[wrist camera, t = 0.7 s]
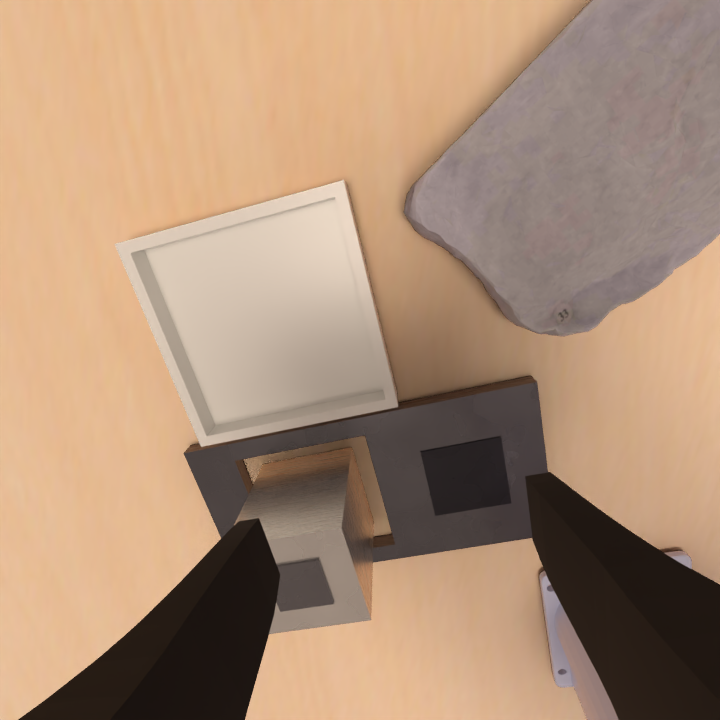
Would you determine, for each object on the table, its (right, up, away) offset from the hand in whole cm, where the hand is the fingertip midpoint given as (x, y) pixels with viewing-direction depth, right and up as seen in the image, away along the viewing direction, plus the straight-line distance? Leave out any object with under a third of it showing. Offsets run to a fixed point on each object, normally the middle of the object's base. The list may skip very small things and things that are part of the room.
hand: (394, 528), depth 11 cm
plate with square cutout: (0, -2, +11) cm, 12 cm away
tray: (-5, +6, +9) cm, 12 cm away
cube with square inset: (-3, -3, +12) cm, 13 cm away
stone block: (+8, +12, +6) cm, 16 cm away
